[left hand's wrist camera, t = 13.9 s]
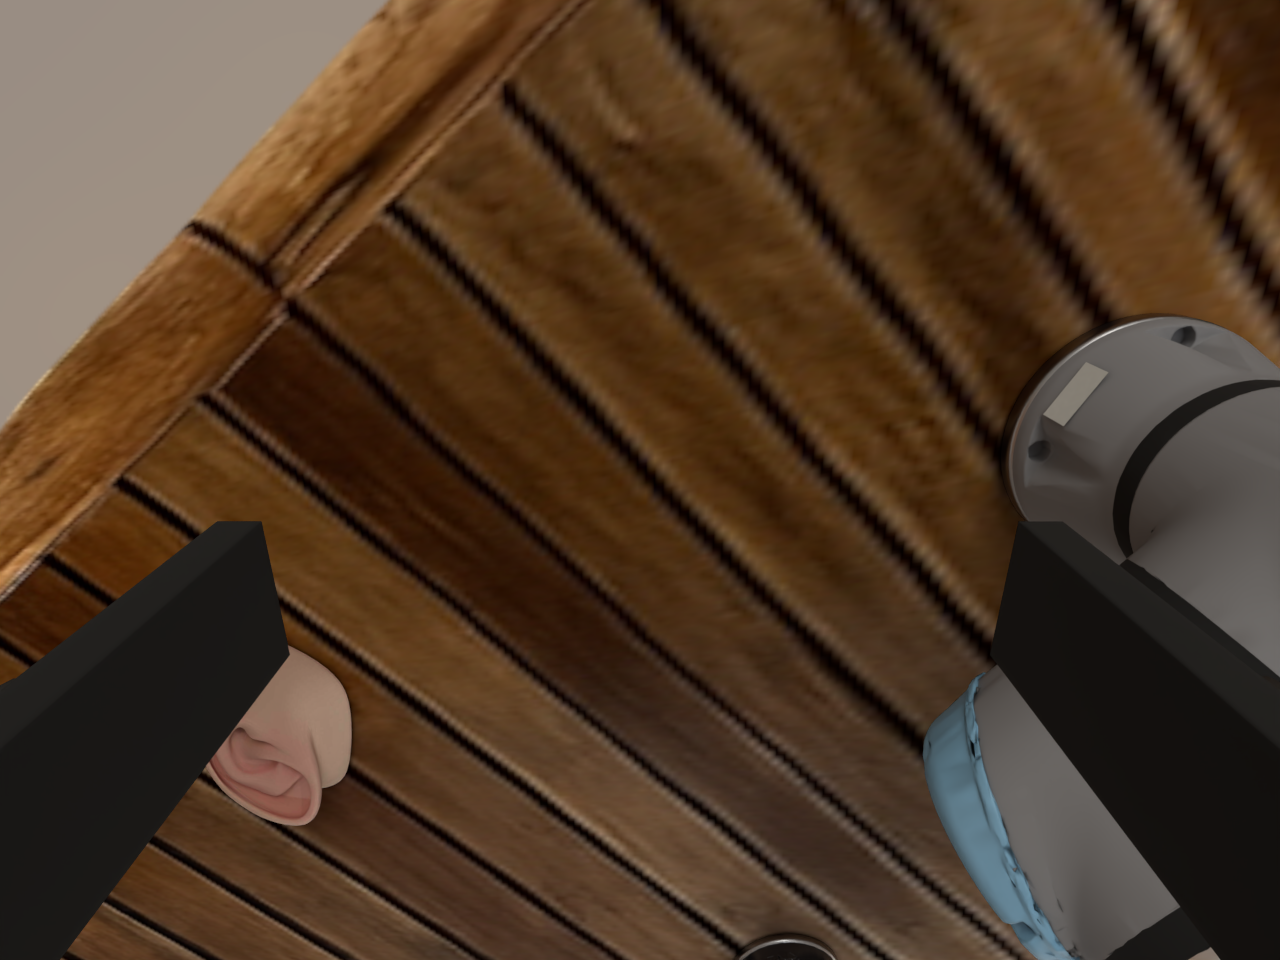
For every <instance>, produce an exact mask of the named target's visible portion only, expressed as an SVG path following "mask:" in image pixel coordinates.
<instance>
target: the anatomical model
mask: <svg viewBox="0 0 1280 960" xmlns="http://www.w3.org/2000/svg"><path fill="white" fill-rule="evenodd" d="M288 648H289V652H290V656H289V657H288V658H287V660H286V661H285V662H284V663H283V665H282V666H281V667H280V669H279V670H278V671H277V673H276V674H275V675H274V677H273V678H272V679H271V681H270V682H269V683H268V685H267V686H266V687H265V689H264V690H263V691H262V693H261V694H260V695H259V697H258V698H257V699H256V701H255V702H254V703H253V705H252V706H251V707H250V708H249V710H248V711H247V712H246V714H245V715H244V716H243V718H242V719H241V720H240V722H239V723H238V724H237V726H236V727H235V728H234V730H233V731H232V732H231V734H230V735H229V736H228V738H227V739H226V740H225V742H224V743H223V744H222V746H221V747H220V748H219V750H218V751H217V752H216V754H215V755H214V756H213V757H212V759H211V760H210V761H209V763H208V764H207V765H206V768H207V770H208V772H209V773H210V775H211V776H212V778H213V779H214V781H215V782H216V783H217V784H218V785H219V787H220V788H221V789H222V790H223V791H224V792H225V793H226V794H227V795H228V796H229V797H230V798H232V799H233V800H234V801H236V802H237V803H238V804H240V805H241V806H243V807H244V808H246V809H248V810H249V811H251V812H252V813H254V814H256V815H258V816H260V817H262V818H265V819H268V820H270V821H273V822H276V823H280V824H285V825H293V826H297V825H304V824H307V823H309V822H310V821H311V820H313V819H314V817H315V816H316V814H317V812H318V810H319V807H320V803H321V796H322V788H326V787H329V786H332V785H335V784H336V783H338V782H339V781H341V780H342V778H343V777H344V776H345V774H346V772H347V769H348V765H349V761H350V753H351V739H352V731H351V713H350V707H349V701H348V698H347V695H346V692H345V690H344V688H343V686H342V684H341V683H340V681H339V680H338V679H337V678H336V677H335V676H334V674H333V673H331V672H330V671H329V670H328V669H327V668H326V667H324V666H323V665H321V664H320V663H319V662H317V661H316V660H314V659H313V658H311V657H309V656H308V655H306V654H304V653H302V652H300V651H299V650H297V649H295V648H293V647H291V646H289V645H288Z"/></svg>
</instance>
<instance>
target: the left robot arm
mask: <svg viewBox="0 0 1280 960" xmlns="http://www.w3.org/2000/svg"><path fill="white" fill-rule="evenodd" d="M1001 470H1002V476H1003V482H1004V485H1005V488H1006V491H1007V494H1008V496H1009V498H1010V500H1011V502H1012V504H1013V505H1014V507H1015V509H1016V510H1017V511H1018V513H1019V514H1020V515H1021V517H1022V518H1023V519H1024V520H1025V521H1019V522H1018V526H1017V531H1016V536H1015V540H1014V545H1013V550H1012V554H1011V559H1010V564H1009V568H1008V573H1007V578H1006V582H1005V587H1004V592H1003V596H1002V601H1001V606H1000V610H999V615H998V620H997V624H996V629H995V634H994V638H993V643H992V648H991V652H990V656H991V657H992V658H993V660H994V661H995V662H996V663H997V665H996V666H995V667H993V668H992V669H991V670H989V671H988V672H987V673H985V672H983V673H981V674H980V675H978V676H977V677H976V678H974V679H973V680H972V681H971V683H970V685H969V687H968V689H967V690H966V691H965V692H964V693H963V694H962V695H961V696H960V697H959V698H958V699H957V700H956V701H955V702H954V703H953V704H952V705H951V706H949V707H948V708H947V709H946V710H945V711H944V712H943V713H942V714H941V715H940V716H938V717H937V718H936V719H935V720H934V722H933V723H932V724H931V726H930V727H929V729H928V731H927V733H926V736H925V740H924V746H923V747H924V750H923V759H924V764H925V766H924V769H925V777H926V781H927V785H928V788H929V792H930V795H931V798H932V801H933V803H934V806H935V809H936V811H937V813H938V816H939V818H940V820H941V823H942V825H943V827H944V829H945V831H946V833H947V835H948V837H949V839H950V841H951V843H952V845H953V847H954V849H955V851H956V853H957V854H958V856H959V858H960V860H961V861H962V863H963V865H964V866H965V868H966V870H967V872H968V873H969V875H970V876H971V878H972V880H973V881H974V883H975V884H976V886H977V887H978V889H979V890H980V892H981V893H982V895H983V896H984V898H985V899H986V901H987V902H988V903H989V905H990V906H991V908H992V909H993V910H994V912H995V913H996V914H997V915H998V916H999V918H1000V919H1001V920H1002V921H1003V922H1005V923H1008V924H1011V926H1012V928H1013V929H1014V931H1015V933H1016V935H1017V937H1018V939H1019V940H1020V942H1021V943H1022V945H1023V946H1024V947H1025V948H1026V949H1027V950H1028V951H1029V952H1030V953H1032V954H1033V955H1034V956H1035V957H1036V958H1037V959H1038V960H1280V369H1279V368H1278V367H1277V366H1276V365H1274V364H1273V363H1272V362H1271V361H1270V360H1269V359H1268V358H1266V357H1265V356H1264V355H1263V354H1262V353H1261V352H1259V351H1258V350H1257V349H1256V348H1255V347H1254V346H1253V345H1251V344H1250V343H1249V342H1248V341H1246V340H1245V339H1243V338H1242V337H1240V336H1238V335H1237V334H1235V333H1233V332H1231V331H1229V330H1227V329H1225V328H1223V327H1221V326H1219V325H1216V324H1214V323H1211V322H1207V321H1203V320H1199V319H1195V318H1191V317H1186V316H1181V315H1175V314H1163V313H1155V314H1142V315H1135V316H1130V317H1125V318H1121V319H1118V320H1115V321H1112V322H1109V323H1106V324H1103V325H1101V326H1099V327H1096V328H1094V329H1092V330H1090V331H1088V332H1086V333H1084V334H1083V335H1081V336H1079V337H1078V338H1076V339H1074V340H1073V341H1071V342H1070V343H1068V344H1067V345H1066V346H1064V347H1063V348H1062V349H1060V350H1059V351H1058V352H1057V353H1055V354H1054V355H1053V356H1052V357H1051V358H1050V359H1049V360H1047V361H1046V363H1045V364H1044V365H1043V366H1042V367H1041V368H1040V369H1039V370H1038V371H1037V372H1036V373H1035V375H1034V376H1033V377H1032V378H1031V379H1030V381H1029V382H1028V383H1027V385H1026V386H1025V388H1024V389H1023V391H1022V392H1021V394H1020V396H1019V397H1018V399H1017V401H1016V403H1015V405H1014V407H1013V409H1012V411H1011V414H1010V416H1009V419H1008V422H1007V424H1006V428H1005V432H1004V436H1003V441H1002V448H1001ZM289 656H290V652H289V648H288V643H287V638H286V634H285V629H284V624H283V620H282V615H281V610H280V606H279V601H278V596H277V592H276V587H275V582H274V578H273V573H272V568H271V564H270V559H269V554H268V550H267V545H266V540H265V536H264V531H263V526H262V522H261V521H217V522H216V523H215V524H213V525H212V526H211V527H209V528H208V529H207V530H206V531H204V532H203V533H202V534H201V535H199V536H198V537H197V538H195V539H194V540H193V541H192V542H190V543H189V544H188V545H186V546H185V547H184V548H183V549H181V550H180V551H179V552H177V553H176V554H175V555H174V556H172V557H171V558H170V559H168V560H167V561H166V562H165V563H163V564H162V565H161V566H159V567H158V568H157V569H156V570H154V571H153V572H152V573H151V574H149V575H148V576H147V577H145V578H144V579H143V580H142V581H140V582H139V583H138V584H136V585H135V586H134V587H133V588H131V589H130V590H129V591H127V592H126V593H125V594H124V595H122V596H121V597H120V598H118V599H117V600H116V601H115V602H113V603H112V604H111V605H110V606H108V607H107V608H106V609H104V610H103V611H102V612H101V613H99V614H98V615H97V616H95V617H94V618H93V619H92V620H90V621H89V622H88V623H86V624H85V625H84V626H83V627H81V628H80V629H79V630H77V631H76V632H75V633H74V634H72V635H71V636H70V637H68V638H67V639H66V640H65V641H63V642H62V643H61V644H60V645H58V646H57V647H56V648H54V649H53V650H52V651H51V652H49V653H48V654H47V655H45V656H44V657H43V658H42V659H40V660H39V661H38V662H36V663H35V664H34V665H33V666H31V667H30V668H29V669H27V670H26V671H25V672H24V673H22V674H21V675H20V676H19V677H17V678H16V679H12V680H10V681H8V682H6V683H4V684H2V685H0V960H60V959H61V957H62V956H63V955H64V953H65V952H66V951H67V949H68V948H69V947H70V945H71V944H72V943H73V941H74V940H75V939H76V938H77V936H78V935H79V934H80V932H81V931H82V930H83V928H84V927H85V926H86V924H87V923H88V922H89V920H90V919H91V918H92V916H93V915H94V914H95V912H96V911H97V910H98V908H99V907H100V906H101V904H102V903H103V902H104V900H105V899H106V898H107V896H108V895H109V894H110V893H111V891H112V890H113V889H114V887H115V886H116V885H117V883H118V882H119V881H120V879H121V878H122V877H123V875H124V874H125V873H126V871H127V870H128V869H129V867H130V866H131V865H132V863H133V862H134V861H135V859H136V858H137V857H138V855H139V854H140V853H141V851H142V850H143V849H144V847H145V846H146V845H147V844H148V842H149V841H150V840H151V838H152V837H153V836H154V834H155V833H156V832H157V830H158V829H159V828H160V826H161V825H162V824H163V822H164V821H165V820H166V818H167V817H168V816H169V814H170V813H171V812H172V810H173V809H174V808H175V806H176V805H177V804H178V802H179V801H180V800H181V799H182V797H183V796H184V795H185V793H186V792H187V791H188V789H189V788H190V787H191V785H192V784H193V783H194V781H195V780H196V779H197V777H198V776H199V775H200V773H201V772H202V771H203V769H204V768H205V767H206V765H207V764H208V763H209V761H210V760H211V759H212V757H213V756H214V755H215V754H216V752H217V751H218V750H219V748H220V747H221V746H222V744H223V743H224V742H225V740H226V739H227V738H228V736H229V735H230V734H231V732H232V731H233V730H234V728H235V727H236V726H237V724H238V723H239V722H240V720H241V719H242V718H243V716H244V715H245V714H246V712H247V711H248V710H249V708H250V707H251V706H252V705H253V703H254V702H255V701H256V699H257V698H258V697H259V695H260V694H261V693H262V691H263V690H264V689H265V687H266V686H267V685H268V683H269V682H270V681H271V679H272V678H273V677H274V675H275V674H276V673H277V671H278V670H279V669H280V667H281V666H282V665H283V663H284V662H285V661H286V660H287V658H288V657H289Z"/></svg>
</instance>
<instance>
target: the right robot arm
mask: <svg viewBox="0 0 1280 960" xmlns="http://www.w3.org/2000/svg"><path fill="white" fill-rule="evenodd" d="M734 960H837V958H836V956H835V954H834V953H833V951H832V950H831V949H830V948H829V947H828V946H827V945H825V944H824V943H822V942H820V941H819V940H816V939H814V938H811V937H808V936H804V935H797V934H779V935H773V936H768V937H765V938H762V939H759V940H757V941H755V942H753V943H751V944H749V945H748V946H746V947H745V948H744V949H743V950H742V951H741V952H740V953H739V954H738V955H737V956H736V958H735V959H734Z"/></svg>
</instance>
